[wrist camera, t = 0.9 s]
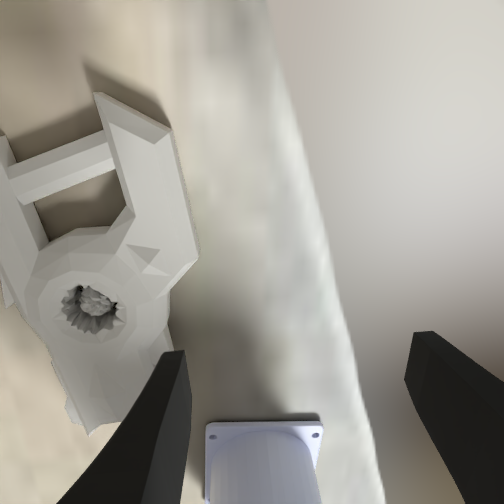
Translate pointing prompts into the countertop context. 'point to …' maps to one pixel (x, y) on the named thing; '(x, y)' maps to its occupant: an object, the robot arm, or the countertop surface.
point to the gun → (99, 260)
